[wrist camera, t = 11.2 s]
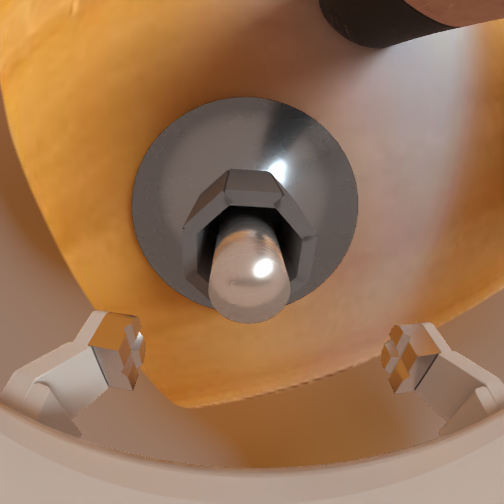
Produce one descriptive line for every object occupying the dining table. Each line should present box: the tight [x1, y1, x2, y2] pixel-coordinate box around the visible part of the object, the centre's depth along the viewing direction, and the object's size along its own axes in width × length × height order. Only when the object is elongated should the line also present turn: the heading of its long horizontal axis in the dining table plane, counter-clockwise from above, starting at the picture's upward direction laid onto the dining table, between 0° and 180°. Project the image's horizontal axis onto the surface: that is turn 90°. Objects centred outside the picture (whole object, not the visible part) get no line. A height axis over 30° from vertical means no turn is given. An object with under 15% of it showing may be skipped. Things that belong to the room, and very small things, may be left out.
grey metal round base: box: [132, 97, 358, 324], centre depth 16 cm, size 16×16×10 cm
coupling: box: [182, 169, 318, 300], centre depth 16 cm, size 6×6×6 cm
